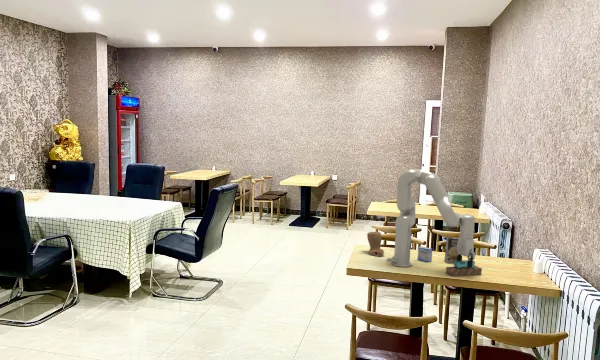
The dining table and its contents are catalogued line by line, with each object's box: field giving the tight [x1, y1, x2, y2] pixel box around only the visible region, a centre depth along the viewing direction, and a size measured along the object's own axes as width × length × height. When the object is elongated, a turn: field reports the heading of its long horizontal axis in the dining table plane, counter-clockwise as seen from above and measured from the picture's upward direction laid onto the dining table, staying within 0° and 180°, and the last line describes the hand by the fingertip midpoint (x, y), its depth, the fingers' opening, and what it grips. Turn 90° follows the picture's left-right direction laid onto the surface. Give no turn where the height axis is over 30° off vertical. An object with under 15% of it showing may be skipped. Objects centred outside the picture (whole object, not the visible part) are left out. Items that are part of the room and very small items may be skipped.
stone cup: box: [366, 231, 385, 257], centre depth 312 cm, size 15×12×15 cm
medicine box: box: [417, 245, 433, 263], centre depth 300 cm, size 8×4×9 cm, turn 47°
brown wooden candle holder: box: [445, 265, 483, 277], centre depth 273 cm, size 20×6×4 cm, turn 107°
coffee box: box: [444, 236, 459, 264], centre depth 299 cm, size 9×6×16 cm
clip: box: [453, 259, 476, 269], centre depth 273 cm, size 12×3×8 cm, turn 106°
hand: (464, 264), depth 272 cm, fingers open, 9 cm apart
